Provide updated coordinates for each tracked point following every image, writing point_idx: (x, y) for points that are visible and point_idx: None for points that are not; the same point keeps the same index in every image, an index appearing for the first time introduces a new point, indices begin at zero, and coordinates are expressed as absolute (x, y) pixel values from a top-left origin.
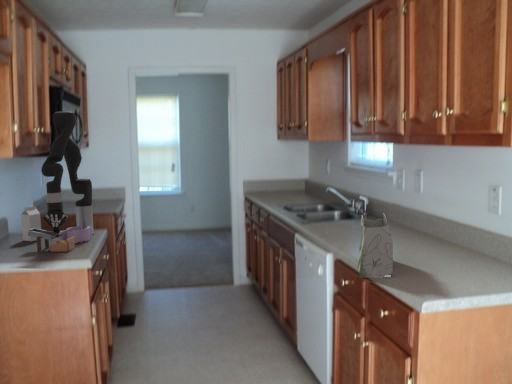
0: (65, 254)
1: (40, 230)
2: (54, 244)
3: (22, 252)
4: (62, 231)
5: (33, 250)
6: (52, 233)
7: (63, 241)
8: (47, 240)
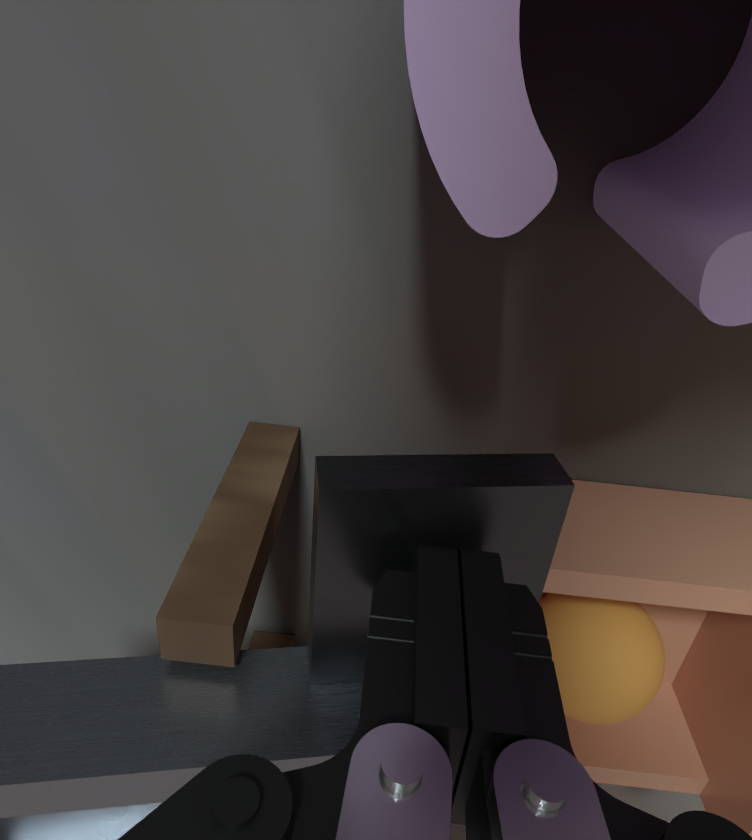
0: (651, 795)
1: (53, 795)
2: None
3: (59, 636)
4: (505, 52)
5: (141, 563)
6: None
7: (633, 716)
8: (267, 551)
